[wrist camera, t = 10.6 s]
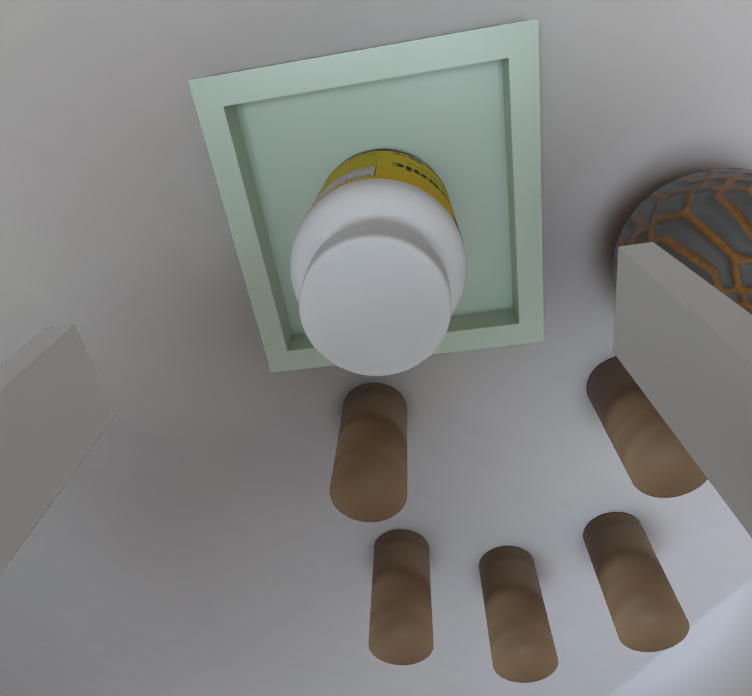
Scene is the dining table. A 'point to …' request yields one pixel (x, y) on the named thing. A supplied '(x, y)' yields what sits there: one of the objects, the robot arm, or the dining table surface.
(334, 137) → the tray
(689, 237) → the vase
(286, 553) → the dining table surface
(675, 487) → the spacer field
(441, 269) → the supplement bottle
